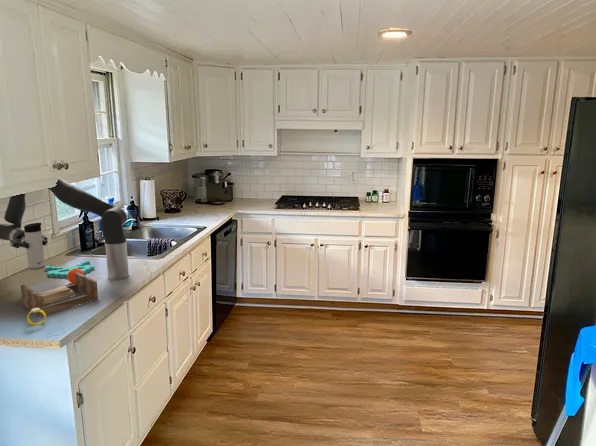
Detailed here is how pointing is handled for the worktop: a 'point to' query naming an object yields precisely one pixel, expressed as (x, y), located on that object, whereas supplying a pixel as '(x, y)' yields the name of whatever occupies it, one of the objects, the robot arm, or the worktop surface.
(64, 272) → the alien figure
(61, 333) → the worktop surface
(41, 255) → the travel mug
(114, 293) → the worktop surface
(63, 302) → the walnut rack
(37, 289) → the mat
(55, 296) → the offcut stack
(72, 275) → the clementine
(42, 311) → the watch
